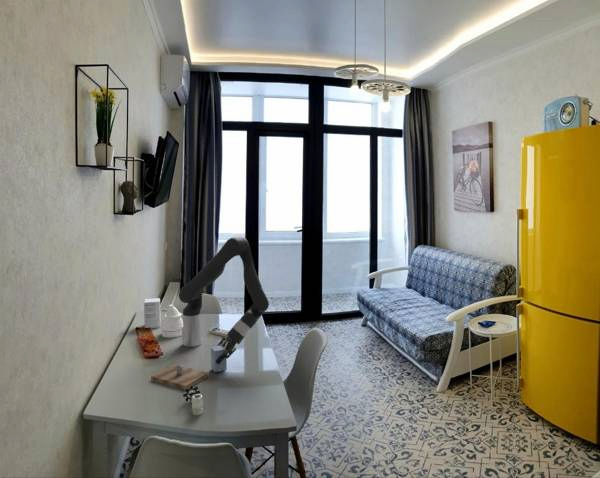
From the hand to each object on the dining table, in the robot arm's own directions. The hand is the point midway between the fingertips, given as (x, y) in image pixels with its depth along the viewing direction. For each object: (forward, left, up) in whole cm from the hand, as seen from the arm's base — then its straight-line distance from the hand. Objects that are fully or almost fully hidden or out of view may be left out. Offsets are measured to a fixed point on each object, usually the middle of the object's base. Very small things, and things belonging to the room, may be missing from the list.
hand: (215, 360), depth 182 cm
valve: (+14, -30, -5) cm, 33 cm away
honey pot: (-55, +29, -5) cm, 63 cm away
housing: (+1, +1, -4) cm, 5 cm away
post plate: (-9, -14, -5) cm, 17 cm away
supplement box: (-77, +34, -5) cm, 85 cm away
